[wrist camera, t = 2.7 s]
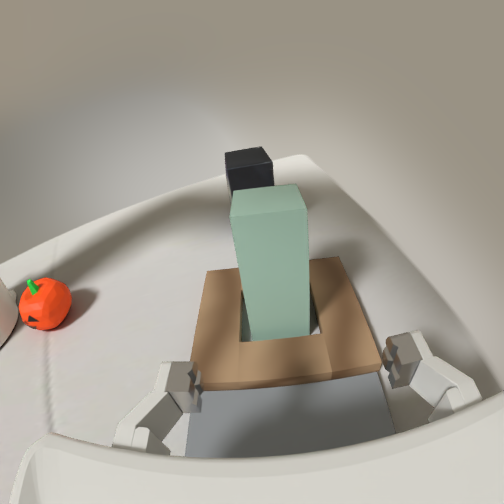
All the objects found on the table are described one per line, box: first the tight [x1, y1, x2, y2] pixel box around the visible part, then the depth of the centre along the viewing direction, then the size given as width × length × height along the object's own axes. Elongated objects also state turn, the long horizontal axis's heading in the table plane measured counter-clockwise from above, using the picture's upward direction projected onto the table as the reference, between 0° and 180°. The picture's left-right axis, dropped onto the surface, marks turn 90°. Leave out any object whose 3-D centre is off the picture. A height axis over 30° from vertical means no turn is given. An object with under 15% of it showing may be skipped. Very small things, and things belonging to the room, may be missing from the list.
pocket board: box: [190, 257, 382, 391], centre depth 27 cm, size 15×15×1 cm
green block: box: [230, 184, 310, 341], centre depth 24 cm, size 5×5×12 cm
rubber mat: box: [185, 372, 396, 458], centre depth 14 cm, size 14×14×1 cm
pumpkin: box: [19, 277, 72, 330], centre depth 29 cm, size 7×8×6 cm
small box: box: [225, 147, 275, 204], centre depth 43 cm, size 11×6×10 cm, turn 6°
